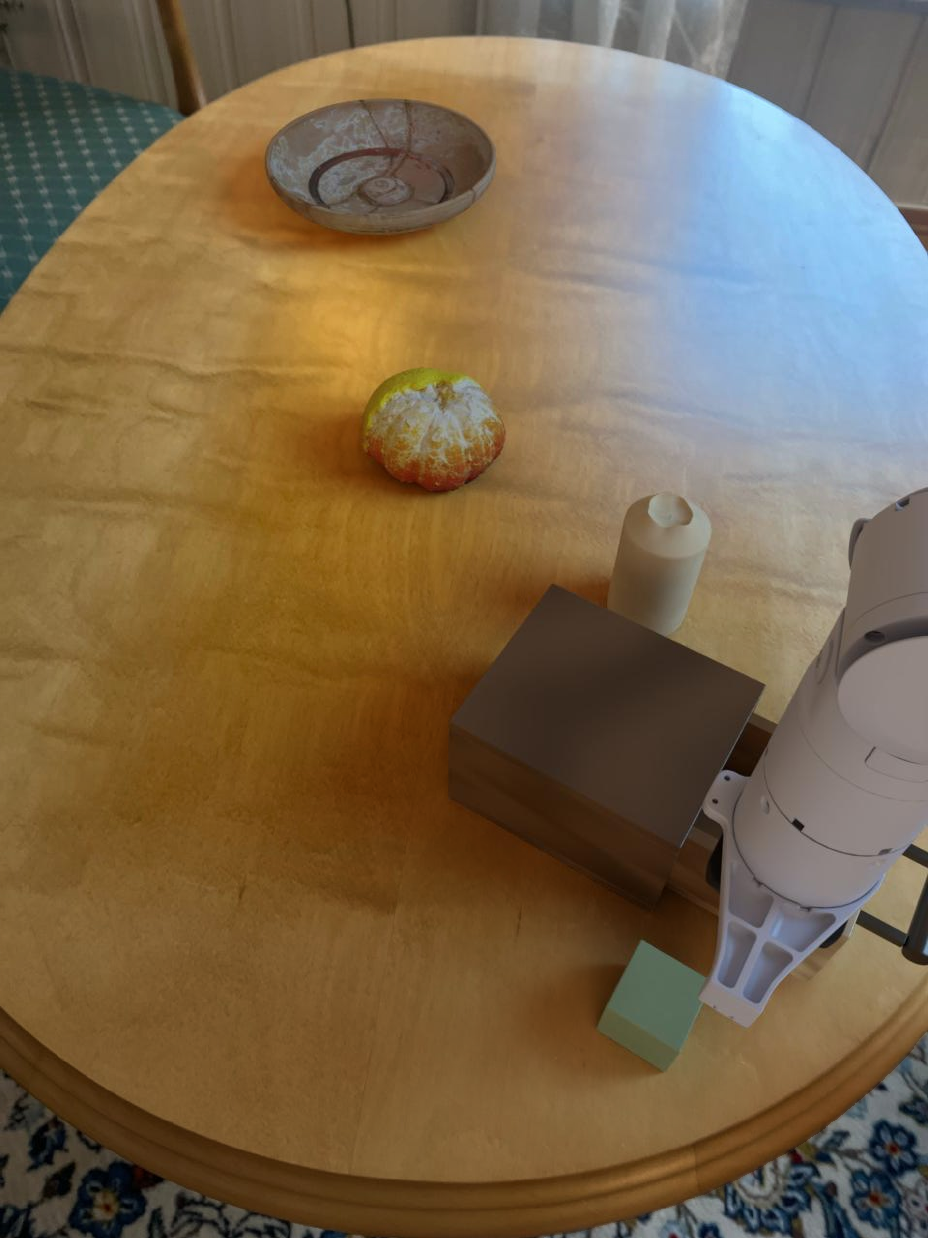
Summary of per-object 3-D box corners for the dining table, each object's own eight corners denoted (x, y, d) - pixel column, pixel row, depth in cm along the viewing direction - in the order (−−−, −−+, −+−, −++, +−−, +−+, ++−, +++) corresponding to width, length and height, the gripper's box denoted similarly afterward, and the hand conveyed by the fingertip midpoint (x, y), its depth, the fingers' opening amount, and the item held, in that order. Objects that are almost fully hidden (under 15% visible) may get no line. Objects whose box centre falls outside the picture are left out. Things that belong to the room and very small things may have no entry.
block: (696, 1005, 52) (713, 981, 48) (665, 1073, 49) (680, 1053, 46) (629, 964, 53) (640, 938, 50) (595, 1029, 51) (605, 1006, 48)
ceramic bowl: (231, 179, 103) (223, 131, 99) (420, 124, 111) (419, 78, 108) (337, 286, 91) (333, 237, 88) (539, 216, 100) (543, 169, 96)
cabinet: (730, 761, 61) (766, 684, 54) (650, 914, 55) (680, 848, 48) (541, 665, 65) (552, 582, 58) (447, 796, 59) (448, 721, 52)
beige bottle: (699, 626, 67) (733, 527, 59) (628, 649, 66) (654, 551, 58) (660, 570, 70) (688, 468, 63) (592, 591, 69) (612, 490, 61)
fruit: (359, 503, 73) (351, 403, 69) (370, 444, 82) (364, 352, 77) (507, 503, 73) (509, 402, 69) (502, 444, 82) (504, 351, 77)
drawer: (939, 868, 56) (992, 814, 50) (885, 1029, 50) (938, 987, 45) (673, 732, 61) (695, 670, 56) (597, 864, 55) (614, 809, 50)
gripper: (809, 597, 39) (728, 764, 50) (652, 887, 31) (596, 1011, 42) (986, 677, 37) (862, 834, 48) (864, 1010, 29) (749, 1108, 40)
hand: (747, 923), depth 45 cm, fingers closed
